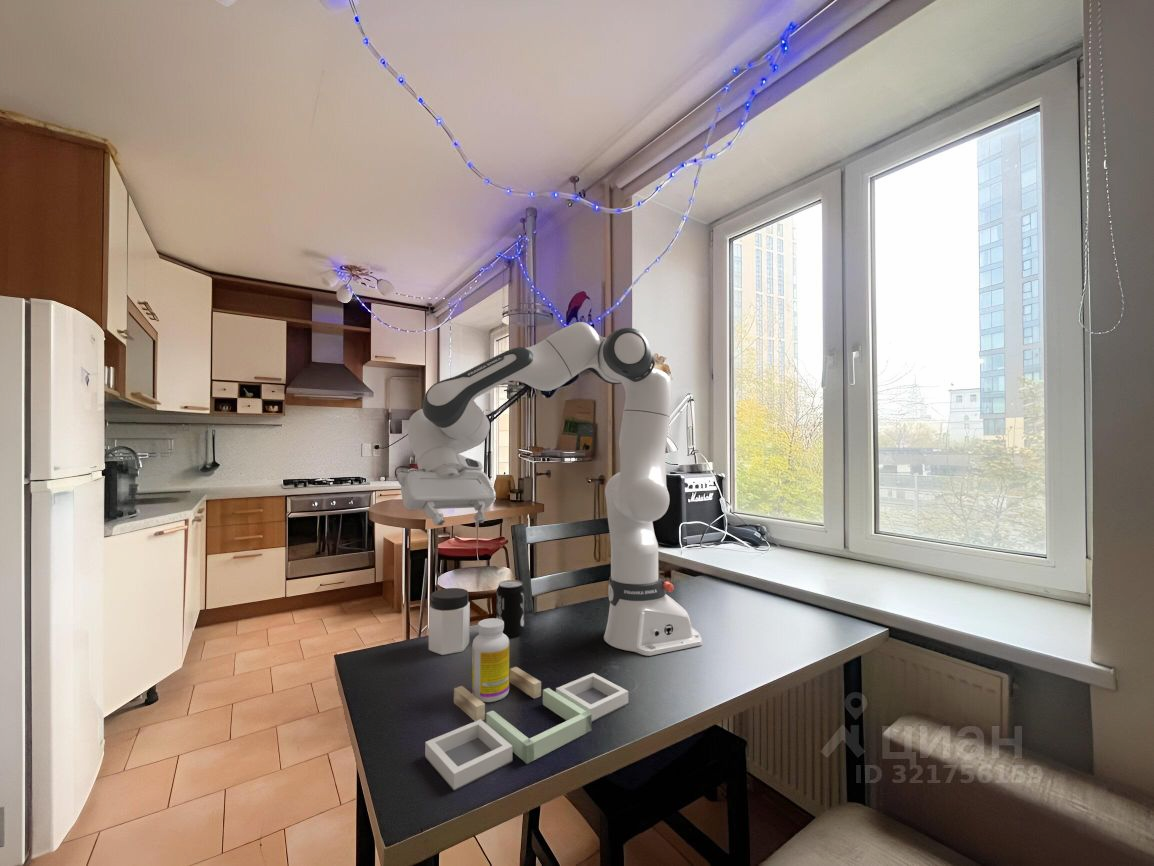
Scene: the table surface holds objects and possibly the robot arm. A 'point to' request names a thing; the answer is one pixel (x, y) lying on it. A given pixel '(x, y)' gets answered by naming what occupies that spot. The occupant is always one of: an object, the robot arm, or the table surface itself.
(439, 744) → the tray
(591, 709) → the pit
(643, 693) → the table surface
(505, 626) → the beverage can
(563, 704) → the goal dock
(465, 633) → the jar
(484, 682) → the supplement bottle
